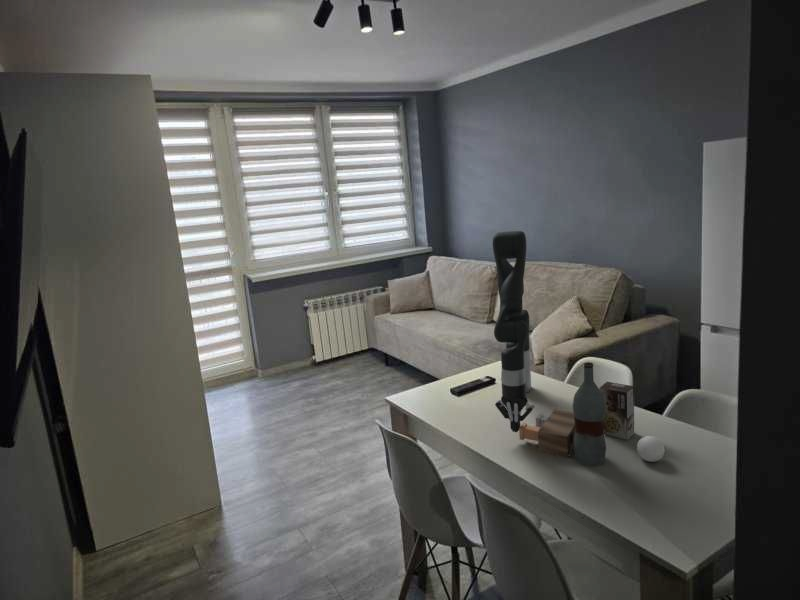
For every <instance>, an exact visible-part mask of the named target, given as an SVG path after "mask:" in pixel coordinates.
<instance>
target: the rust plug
mask: <svg viewBox="0 0 800 600" xmlns="http://www.w3.org/2000/svg"><path fill="white" fill-rule="evenodd" d="M539 429H540V427H536V425H535V426H533V425H528V423H527V422H526V423H525V422H523V423H522V424H520V428H519V431H518V432H519V441H520V440H521V441H524V440H530V441H536V442H538V431H539Z"/></svg>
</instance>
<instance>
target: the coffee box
mask: <svg viewBox="0 0 800 600" xmlns="http://www.w3.org/2000/svg"><path fill="white" fill-rule="evenodd" d="M598 388H599V390H600V391H601V392H602V394H603V396H604V399H605V405H606V412H605V423H604V435H606V436H611V437H615V438H619V439H622V440H629V439H630V438H631V437H632V436H633V435H634V434H635V386H634V385H629V384H622V383H618V382H611V381H606V382H604V383H603V384H602V385H601V386H600V387H598Z"/></svg>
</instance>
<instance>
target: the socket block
mask: <svg viewBox="0 0 800 600" xmlns="http://www.w3.org/2000/svg"><path fill="white" fill-rule="evenodd" d="M548 416H549V417H548V419H547V420H546V421H545V423H544V424H543V425H542V427H541V428H540V429H539V431H538V441H537V443H538V444H537V445H538V453H541V454H545V455H551V456H556V457H561V458H569V457H570V455H571V453H572V452H573V451H574V436H575V421H574V412H573V411H570V410H563V409H558V408H557V409H556V408H555V409H554V410H553V411H552V412H551V413H550V415H548Z"/></svg>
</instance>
